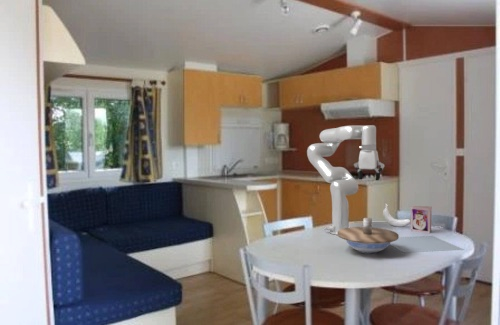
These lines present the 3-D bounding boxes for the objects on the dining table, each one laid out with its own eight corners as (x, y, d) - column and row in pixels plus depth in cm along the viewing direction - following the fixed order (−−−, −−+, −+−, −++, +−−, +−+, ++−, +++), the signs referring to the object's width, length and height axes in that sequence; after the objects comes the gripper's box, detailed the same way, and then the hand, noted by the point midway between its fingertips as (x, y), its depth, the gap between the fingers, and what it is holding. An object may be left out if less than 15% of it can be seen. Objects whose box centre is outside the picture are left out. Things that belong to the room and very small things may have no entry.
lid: (348, 244, 197) (348, 226, 196) (330, 229, 225) (330, 213, 225) (409, 242, 199) (409, 224, 199) (383, 227, 228) (384, 212, 228)
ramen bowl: (357, 260, 198) (357, 242, 198) (334, 248, 220) (334, 232, 220) (404, 255, 205) (404, 238, 204) (377, 244, 227) (377, 229, 226)
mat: (403, 253, 208) (403, 252, 208) (378, 238, 239) (378, 237, 239) (464, 250, 211) (464, 249, 211) (432, 236, 242) (432, 235, 242)
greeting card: (410, 231, 256) (410, 206, 255) (416, 229, 261) (416, 204, 260) (429, 234, 248) (429, 208, 247) (434, 232, 253) (435, 206, 252)
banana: (410, 229, 262) (410, 205, 261) (381, 225, 275) (381, 202, 275) (413, 227, 266) (413, 204, 265) (384, 224, 279) (384, 201, 278)
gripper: (351, 148, 236) (351, 179, 237) (381, 148, 225) (381, 181, 226) (357, 148, 242) (357, 178, 243) (387, 148, 231) (387, 179, 232)
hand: (369, 179), depth 234 cm, fingers open, 9 cm apart
